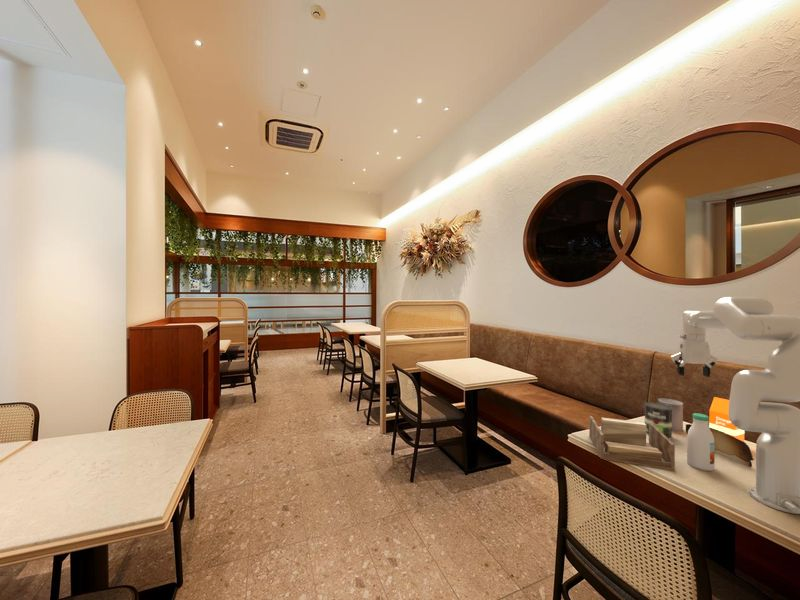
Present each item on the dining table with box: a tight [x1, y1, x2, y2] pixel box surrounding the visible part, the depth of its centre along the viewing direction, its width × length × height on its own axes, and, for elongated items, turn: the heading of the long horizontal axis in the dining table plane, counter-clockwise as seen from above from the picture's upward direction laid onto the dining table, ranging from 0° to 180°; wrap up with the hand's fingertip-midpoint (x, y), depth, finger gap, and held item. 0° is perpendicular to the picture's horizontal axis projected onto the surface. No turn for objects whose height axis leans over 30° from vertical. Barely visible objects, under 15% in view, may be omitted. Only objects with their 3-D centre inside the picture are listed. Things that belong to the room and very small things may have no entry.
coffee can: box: [644, 402, 673, 440], centre depth 150 cm, size 10×10×14 cm
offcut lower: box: [605, 447, 662, 461], centre depth 127 cm, size 4×18×2 cm, turn 69°
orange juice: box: [708, 396, 746, 442], centre depth 141 cm, size 8×9×20 cm
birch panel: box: [600, 417, 647, 447], centre depth 139 cm, size 3×16×10 cm, turn 69°
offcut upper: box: [605, 441, 662, 458], centre depth 127 cm, size 4×18×2 cm, turn 72°
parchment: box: [685, 423, 754, 468], centre depth 133 cm, size 25×10×1 cm
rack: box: [588, 415, 676, 472], centre depth 133 cm, size 22×24×10 cm
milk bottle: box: [686, 412, 716, 472], centre depth 122 cm, size 8×8×20 cm
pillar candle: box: [657, 397, 684, 433], centre depth 158 cm, size 10×10×15 cm
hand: (693, 375), depth 142 cm, fingers open, 9 cm apart
